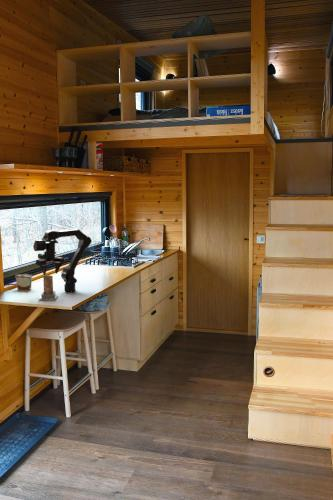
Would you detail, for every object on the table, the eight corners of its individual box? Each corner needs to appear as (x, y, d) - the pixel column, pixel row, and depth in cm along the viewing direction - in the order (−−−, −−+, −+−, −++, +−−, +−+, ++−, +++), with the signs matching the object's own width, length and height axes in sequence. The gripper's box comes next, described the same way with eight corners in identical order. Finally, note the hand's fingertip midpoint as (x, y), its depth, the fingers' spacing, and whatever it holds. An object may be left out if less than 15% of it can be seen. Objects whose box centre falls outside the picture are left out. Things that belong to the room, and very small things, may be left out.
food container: (36, 289, 332) (36, 274, 330) (31, 291, 326) (30, 276, 325) (21, 287, 336) (20, 273, 334) (15, 289, 330) (15, 275, 328)
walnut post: (49, 295, 308) (48, 275, 306) (53, 296, 305) (52, 276, 303) (44, 296, 305) (43, 276, 303) (47, 297, 302) (47, 276, 301)
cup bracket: (57, 296, 311) (57, 290, 310) (56, 300, 301) (55, 294, 300) (41, 296, 310) (41, 291, 309) (39, 300, 300) (39, 294, 299)
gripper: (54, 247, 325) (54, 270, 327) (30, 250, 310) (30, 274, 313) (65, 249, 318) (65, 273, 320) (41, 252, 304) (41, 277, 306)
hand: (50, 274), depth 315 cm, fingers open, 9 cm apart
